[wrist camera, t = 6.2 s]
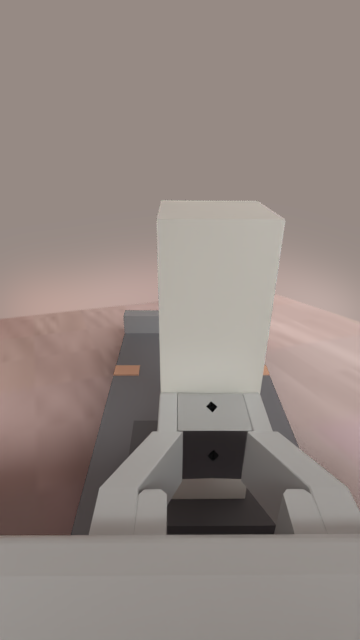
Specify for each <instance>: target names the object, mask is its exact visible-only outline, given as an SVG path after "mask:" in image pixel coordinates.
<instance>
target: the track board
mask: <svg viewBox="0 0 360 640" xmlns="http://www.w3.org/2000/svg"><path fill="white" fill-rule="evenodd" d="M124 328H125V335H124V338H123V342H122V346H121V350H120V353H119V357H118V361H117V365H116V367H115V370H114V374H113V375H114V376H113V379H112V383H111V387H110V391H109V394H108V398H107V402H106V406H105V409H104V413H103V417H102V420H101V424H100V428H99V432H98V435H97V439H96V443H95V447H94V450H93V454H92V458H91V462H90V465H89V469H88V473H87V476H86V480H85V484H84V488H83V491H82V495H81V499H80V503H79V506H78V510H77V514H76V517H75V521H74V525H73V529H72V532H71V535H89V531H90V527H91V522H92V518H93V514H94V509H95V505H96V501H97V496H98V492H99V488H100V487H101V486H102V485H103V484H104V483H105V481H106V480H107V479H108V478H109V477H110V476H111V475H112V474H113V473H114V472H115V471H116V470H117V469H118V468H119V467H120V465H121V464H122V463H123V462H124V461H125V460H126V459H127V458H128V457H129V450H130V443H131V437H132V430H133V423H134V421H158V413H159V398H160V393H161V385H160V342H159V311H137V310H125V313H124ZM269 375H270V374H269V371H268V369H267V367H266V365H265V364H264V371H263V377H262V384H261V391H260V396H261V399H262V401H263V404H264V407H265V410H266V413H267V416H268V419H269V422H270V425H271V428H272V430H273V431H275V432H279V433H280V434H282V435H283V436H284V437H285V438H287V439H288V440H289V441H290V442H292V443H293V444H294V445H295V446H297V447H298V448H299V446H298V444H297V442H296V439H295V437H294V434H293V432H292V429H291V427H290V424H289V422H288V420H287V417H286V415H285V412H284V410H283V407H282V405H281V402H280V400H279V398H278V395H277V393H276V390H275V388H274V385H273V383H272V380H271V378H270V376H269Z"/></svg>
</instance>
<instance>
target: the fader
mask: <svg viewBox="0 0 360 640" xmlns="http://www.w3.org/2000/svg"><path fill="white" fill-rule="evenodd" d="M284 226H285V219H284V218H282V217H281V216H279V215H278V214H276V213H275V212H273V211H272V210H270V209H269V208H267V207H266V206H264V205H263V204H262V203H260V202H258V201H186V200H179V201H178V200H162V201H161V204H160V208H159V212H158V216H157V256H158V294H159V295H158V299H159V342H160V385H161V392H176V393H177V392H185V393H248V392H258V393H259V394H260V391H261V384H262V377H263V371H264V364H265V357H266V350H267V343H268V336H269V329H270V322H271V315H272V309H273V302H274V295H275V288H276V281H277V274H278V267H279V260H280V253H281V247H282V240H283V233H284ZM157 428H158V421H134V423H133V430H132V437H131V443H130V450H129V456H130V455H131V454H132V453H133V452H134V451H135V449H136V448H137V447H138V446H139V445H140V444H141V443H142V442H143V441H144V440H145V439H146V438H147V437H148V436H149V435H150V434H151V432H154V431H157ZM275 527H276V524H275V523H274V522H273V520H272V519H271V518H270V517H269V515H268V514H267V513H266V511H265V510H264V509H263V508H262V506H261V505H260V504H259V503H258V501H257V500H256V499H255V498H254V496H253V495H252V494H251V492H250V491H249V490H248V489H247V487H246V486H245V485H244V484H243V482H242V481H241V479H220V478H203V479H182V482H181V484H180V485H179V487H178V489H177V490H176V492H175V494H174V495H173V497H172V499H171V500H170V502H169V504H168V505H167V535H240V534H274V532H275Z"/></svg>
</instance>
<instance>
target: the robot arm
mask: <svg viewBox="0 0 360 640" xmlns="http://www.w3.org/2000/svg"><path fill="white" fill-rule="evenodd" d="M203 478H220V479H241V481H242V482H243V484H244V485H245V486H246V487H247V489H248V490H249V491H250V492H251V494H252V495H253V496H254V498H255V499H256V500H257V501H258V503H259V504H260V505H261V506H262V508H263V509H264V510H265V511H266V513H267V514H268V515H269V517H270V518H271V519H272V520H273V522H274V523H275V524H276V527H275V532H274V534H240V535H167V505H168V504H169V502H170V500H171V499H172V497H173V495H174V494H175V492H176V490H177V489H178V487H179V485H180V484H181V482H182V479H203ZM0 640H360V511H359V509H358V507H357V505H356V503H355V501H354V499H353V497H352V495H351V493H350V491H349V489H348V487H346V486H345V485H344V484H343V483H341V482H340V481H339V480H338V479H336V478H335V477H334V476H333V475H331V474H330V473H329V472H328V471H326V470H325V469H324V468H323V467H321V466H320V465H319V464H318V463H316V462H315V461H314V460H313V459H311V458H310V457H309V456H308V455H306V454H305V453H304V452H303V451H301V450H300V449H299V448H298V447H297V446H295V445H294V444H293V443H292V442H290V441H289V440H288V439H287V438H285V437H284V436H283V435H282V434H280V433H279V432H275V431H273V430H272V428H271V425H270V422H269V419H268V416H267V413H266V410H265V407H264V404H263V401H262V399H261V396H260V394H259V393H258V392H248V393H185V392H177V393H176V392H161V393H160V398H159V413H158V428H157V431H154V432H151V434H150V435H149V436H148V437H147V438H146V439H145V440H144V441H143V442H142V443H141V444H140V445H139V446H138V447H137V448H136V449H135V451H134V452H133V453H132V454H131V455H130V456H129V457H128V458H127V459H126V460H125V461H124V462H123V463H122V464H121V465H120V467H119V468H118V469H117V470H116V471H115V472H114V473H113V474H112V475H111V476H110V477H109V478H108V479H107V480H106V481H105V483H104V484H103V485H102V486H101V487H100V488H99V492H98V496H97V501H96V505H95V509H94V514H93V518H92V522H91V527H90V531H89V535H0Z"/></svg>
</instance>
